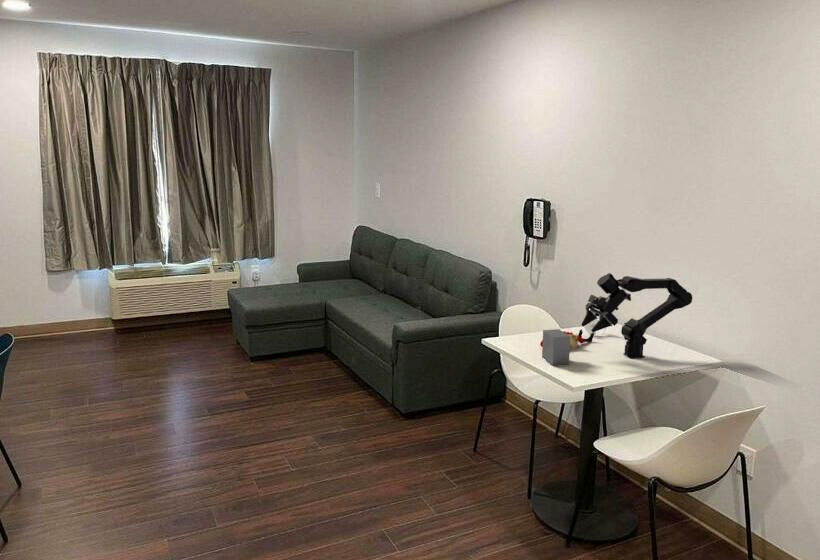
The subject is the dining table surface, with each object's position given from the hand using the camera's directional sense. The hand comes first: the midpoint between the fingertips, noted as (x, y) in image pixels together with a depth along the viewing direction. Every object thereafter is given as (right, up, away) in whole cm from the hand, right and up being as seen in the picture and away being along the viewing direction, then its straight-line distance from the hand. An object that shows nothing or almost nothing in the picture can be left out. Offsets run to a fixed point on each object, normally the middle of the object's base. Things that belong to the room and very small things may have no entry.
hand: (587, 328), depth 262 cm
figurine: (-4, -10, +22) cm, 24 cm away
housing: (-13, -14, 0) cm, 19 cm away
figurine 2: (+14, -6, +39) cm, 42 cm away
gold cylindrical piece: (-9, -8, 0) cm, 13 cm away
